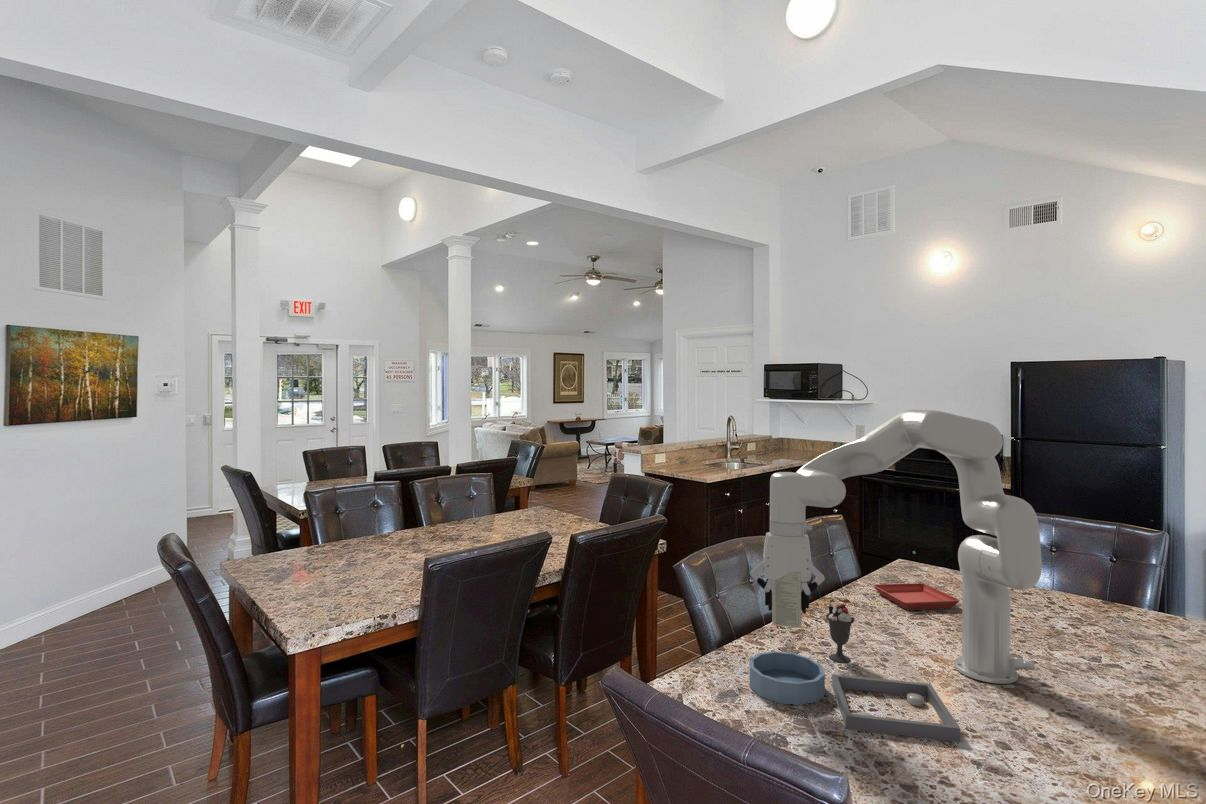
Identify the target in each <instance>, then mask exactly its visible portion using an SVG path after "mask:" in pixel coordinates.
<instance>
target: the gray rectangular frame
mask: <svg viewBox="0 0 1206 804" xmlns="http://www.w3.org/2000/svg"><path fill="white" fill-rule="evenodd" d="M831 687H832V689H833V693H834V696H835V699H836V702H838V703H837V705H838V708H839V711H840V714H841V717H842V720H843V723H844V726H845V729H847V730H853V731H864V732H870V733H879V734H886V735H887V734H889V735H897V736H907V737H915V738H920V739H921V738H923V739H931V740H932V739H933V740H940V741H948V742H949V741H950V742H957V743H961V735H962V734H961V730H962V729H961V727H960V726H959V724H958V723H957V721H956V720H955V718H954V717H953V714H951V712H950V710H949V709H948V708H947V706H946V705H945V703H944V702H943V701H942V699H941V697H940V695H939V694H938V693H937V691H936V690H935V689H934V686H932V684H931V683H926V682H917V681H916V682H915V681H904V680H897V679H896V680H894V679H887V678H885V679H883V678H874V677H865V676H864V677H863V676H855V675H844V674H843V675H842V674H833V673H832V674H831ZM843 689H845V690H852V691H853V690H854V691H862V690H863V692H871V691H873V692H872V693H874V691H875V693H881V692H885V693H884V694H891V693H892V695H902V696H907V694H909V693H915V694H919V695H921V696H923V697H924V698H927V700H928V702H929V704H931V707H932V708H933V709H934V711H935V714H936V715H937V716H938V718H939V719H940V721H941V722H942V723H937V722H927V721H918V720H909V719H900V718H891V717H884V716H883V717H882V716H873V715H872V716H866V715H857V714H856V713H852V712H851V711H850V707H849V705H848V702H847V700H846V699H847V698H846V697H845V696H846V695H845V694H844V691H843Z"/></svg>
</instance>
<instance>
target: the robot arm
mask: <svg viewBox="0 0 1206 804" xmlns="http://www.w3.org/2000/svg"><path fill="white" fill-rule="evenodd" d="M1003 441H1004V440H1003V435H1002V433H1001V431H1000V429H998V428H997V426H995V425H994V424H992V423H990V422H987V421H984V420H980V419H974V418H970V417H967V416H962V415H958V414H953V413H950V412H945V411H941V410H933V409H932V410H931V409H929V410H928V409H908V410H907V409H906V410H904V411H901V412H899V413H898V414H896V415H894V416H893V417H891V418H890V419H888V420H886V421H885V422H883V424H881V425H879V426H877V427H876V428H874V429H873V430H871V431H870V432H868V433H867V434H865V435H863V436H862V437H860V438H858V439H856V440H854V441H850V442H848V443H846V444H843V445H841V446H839V447H837V448H834V449H832V450H829V451H827V452H824V453H822V454H820V455H819V456H816V457H815V458H814V459H812V460H810V461H809V462H807V463H806V464H804V465H803V466H801V467H800V468H798V469H797V470H796V472H792V471H778V472H774V473H773V474H771V476H770V479H769V531H768V532H767V531H766V533H765V537H764V543H763V553H762V561H760V562H759V563H758V564H757V565H756V566H755V567H753V568H752V569H751V570H750V571H749V575H750V576H751V577H752V579H753V580H754V581H755V582H756V583H757V584H758V585H759V586H760V587H761V588H762V589H763V590H764V592H765V593H764V606H767V608H768V609H767V610H768V611H769V612H770V611H771V612H772V580H777V579H779V578H781V577H783V576H784V575H786V574H788V573H789V572H794V573H801V613H803V614H807V609H809V608H810V595H811V593H813V592H814V591H815V590H816V589H818V587H819V586H820V585H821V583H823V582H824V581H825V580H826V579H825V578H826V577H825V575H824V574H823V573H822V572H820V570H819V569H817V568H816V567H815V566H814V565H813V564H812V554H811V553H812V551H811V547H810V546H811V545H810V544H811V543H810V539H809V535H808V534H807V532H812V531H813V525H812V524H809V523H807V522H806V507H807V506H809V507H816V508H817V507H818V508H833V507H836V506H838V505H840V504H842V502H843V501H844V499H845V497H846V495H847V494H846V493H847V489H846V485H845V483H844V482H843V481H842V480H845V479H846V478H851V477H856V476H862V475H863V476H864V475H870V474H871V475H872V474H875V473H879V472H883V471H884V470H887V469H888V468H890V467H891V466H892V465H893V464H895V463H897V462H898V461H900V460H901V459H903V458H905V457H906V456H907V455H909V454H910V453H913V452H914V451H915V450H918V449H928V450H935V451H937V452H939V453H940V454H942V455H944V456H945V457H946V458H947V459H948V460H949V461H950V462H951V463H952V465H953V466H954V468H955V470H956V474H957V478H958V488H959V497H960V508H961V509H960V510H961V516H962V520H963V522H964V524H965V525H966V526H968V527H969V528H970V529H973V530H975V531H978V532H981V533H984V535H982V534H977V535H970V536H967V537H966V538H965V539H964V540H963V541H961V543H960V544H959V547H958V551H957V561H958V565H959V571H960V576H961V586H962V587H961V588H962V590H961V591H962V603H961V604H962V605H961V606H962V609H961V610H962V612H961V613H962V614H961V615H962V616H961V656H958V657H956V658H955V659H954V660H953V665H954V668H955V669H956V671H958V672H959V673H961V674H963V675H964V676H966V677H968V678H970V679H974V680H978V681H981V682H984V683H990V684H997V685H998V684H1000V685H1004V684H1005V685H1008V684H1014V683H1016V682H1018V679H1019V673H1018V671H1019V670H1024V671H1035V664H1034V662H1033V661H1031V660H1030V661H1028V660H1023V658H1022V657H1016V656H1015V657H1014V656H1012V655H1011V610H1012V609H1011V606H1012V604H1011V603H1012V601H1011V596H1010V592H1009V589H1013V590H1016V591H1028V590H1030V589H1032V588H1034V587H1035V586H1036V585H1037V584H1038V582H1039V580H1040V579H1041V575H1042V570H1043V569H1042V565H1043V564H1042V563H1043V561H1042V549H1041V534H1040V525H1039V519H1038V518H1039V517H1038V516H1037V513H1036V511H1035V509H1034V508H1033V506H1032V504H1030V503H1028V502H1027V501H1026V500H1025V499H1023V498H1020V497H1018V496H1013V495H1009V494H1005V492H1004V490H1003V489H1004V488H1003V482H1002V475H1001V470H1000V467H999V463H998V461H997V459H996V456H997V455H998V454H999V453H1000V451H1001V450H1002V448H1003V445H1004V444H1003V443H1004V442H1003ZM985 534H988V535H985ZM989 535H991V536H989ZM992 536H995V537H992ZM761 572H762V573H763V576H764V578H765V580H764V578H762V576H760V574H759V573H761ZM812 574H813V575H812ZM812 576H814V577H815V578H814V579H813V580H812V581H811V579H812Z"/></svg>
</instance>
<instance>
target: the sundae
mask: <svg viewBox="0 0 1206 804" xmlns="http://www.w3.org/2000/svg"><path fill="white" fill-rule="evenodd" d="M849 602H850V599H848V598H847V599H846V600H845V601H844V602H843V603H840V604H839V605H836V606H832V605H829V606H828V613H827V614H826V615H825V618H826V619H827V620H828V624H829V625H828V626H829V634H830V638H831V640H832V641H833V642H834V644H835V645H836V646H837V647H836V652H835V653H830V654H829V656H828V658H829V659H830V661H832V660H833V662H835V663H839V664H845V663H846V664H848V663H849V662H851V658H850V657H849V656H847V655H845V654H844V653H843V646H844V645H845V644H846V645H847V643H848V641H849V639H850V634H851V628H852V624H853V623H854V622H855V619H856V618H855V617H854V616H852V615H851V613H850V612H849V609H848V608H847V606H846V604H847V603H849Z"/></svg>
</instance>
